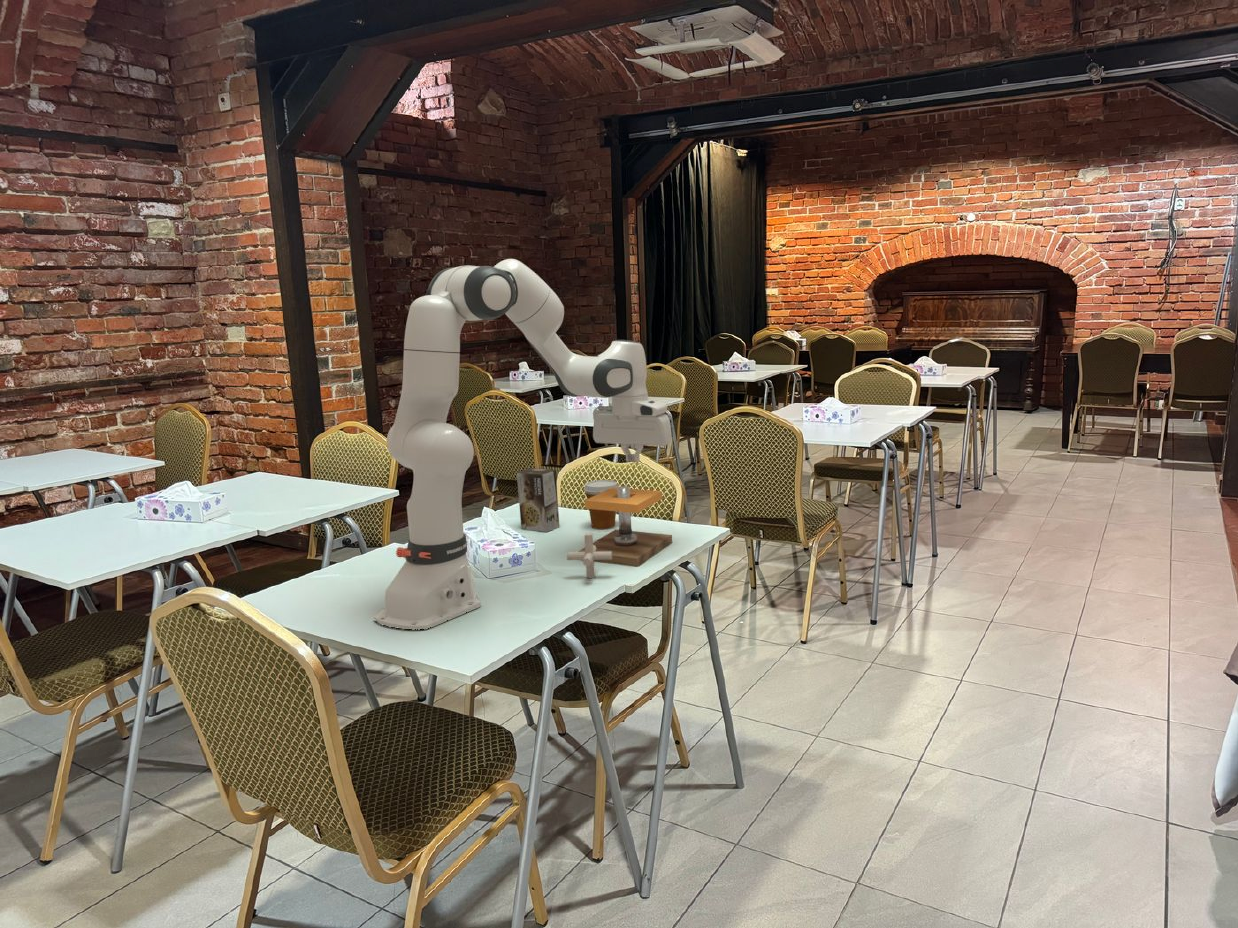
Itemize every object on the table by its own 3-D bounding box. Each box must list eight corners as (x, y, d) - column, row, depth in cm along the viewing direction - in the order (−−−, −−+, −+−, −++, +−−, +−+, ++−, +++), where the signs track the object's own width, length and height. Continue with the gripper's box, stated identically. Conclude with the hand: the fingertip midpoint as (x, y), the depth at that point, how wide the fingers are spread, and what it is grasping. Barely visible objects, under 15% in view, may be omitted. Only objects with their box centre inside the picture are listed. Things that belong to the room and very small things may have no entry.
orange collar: (637, 513, 198) (637, 504, 197) (585, 508, 204) (584, 500, 204) (662, 498, 210) (661, 491, 210) (612, 495, 216) (611, 487, 216)
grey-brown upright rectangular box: (560, 526, 234) (557, 469, 231) (546, 532, 229) (542, 474, 225) (534, 523, 239) (530, 467, 235) (519, 529, 233) (515, 471, 230)
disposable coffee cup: (587, 521, 237) (585, 480, 235) (621, 520, 237) (619, 478, 234) (584, 531, 228) (582, 488, 226) (620, 530, 228) (618, 486, 225)
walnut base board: (637, 566, 197) (637, 558, 197) (578, 559, 204) (577, 551, 204) (672, 542, 215) (672, 534, 214) (616, 536, 222) (615, 529, 221)
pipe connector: (614, 569, 196) (612, 527, 194) (610, 584, 186) (608, 540, 184) (572, 569, 197) (569, 528, 195) (565, 584, 187) (562, 541, 185)
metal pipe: (631, 547, 205) (628, 491, 203) (610, 545, 208) (607, 489, 205) (641, 540, 210) (638, 485, 208) (620, 538, 213) (618, 484, 210)
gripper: (586, 407, 209) (590, 462, 212) (662, 409, 200) (664, 466, 203) (598, 403, 215) (601, 457, 218) (673, 405, 205) (675, 461, 208)
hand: (632, 461), depth 210 cm, fingers closed
